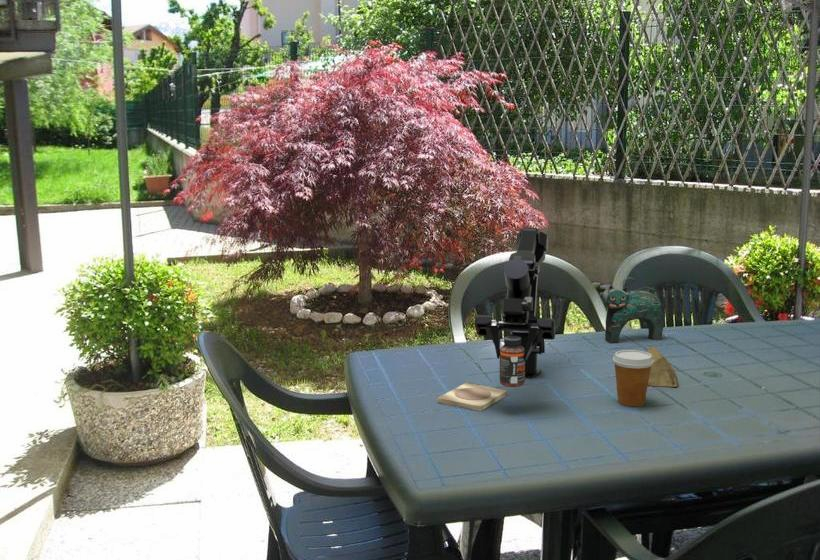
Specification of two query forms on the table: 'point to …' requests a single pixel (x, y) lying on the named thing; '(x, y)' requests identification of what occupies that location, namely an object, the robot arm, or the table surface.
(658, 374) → the rock
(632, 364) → the disposable coffee cup
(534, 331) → the robot arm
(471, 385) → the board
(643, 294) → the ceramic cat
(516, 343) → the supplement bottle
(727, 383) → the table surface
